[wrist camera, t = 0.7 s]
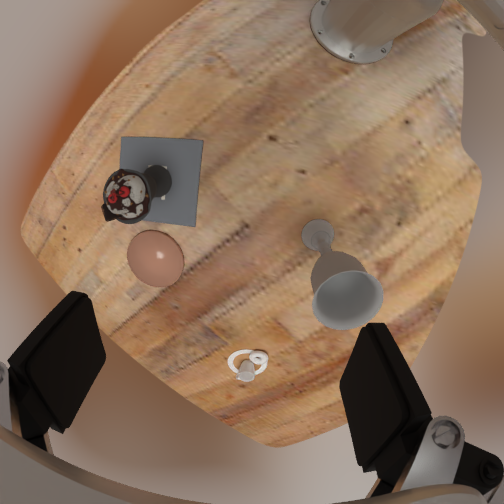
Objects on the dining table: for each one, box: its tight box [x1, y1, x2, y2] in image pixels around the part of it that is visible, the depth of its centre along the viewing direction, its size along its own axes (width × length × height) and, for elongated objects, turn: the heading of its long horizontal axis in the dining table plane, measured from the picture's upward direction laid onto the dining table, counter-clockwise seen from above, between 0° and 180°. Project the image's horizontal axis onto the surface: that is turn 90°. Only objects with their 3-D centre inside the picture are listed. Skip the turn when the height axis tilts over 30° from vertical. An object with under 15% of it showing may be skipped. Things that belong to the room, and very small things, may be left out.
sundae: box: [101, 165, 172, 224], centre depth 32 cm, size 7×7×15 cm
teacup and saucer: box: [228, 349, 268, 382], centre depth 52 cm, size 9×8×4 cm
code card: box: [120, 137, 203, 227], centre depth 39 cm, size 13×13×1 cm
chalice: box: [301, 219, 383, 330], centre depth 33 cm, size 7×7×18 cm
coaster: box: [127, 230, 184, 287], centre depth 44 cm, size 10×10×1 cm
